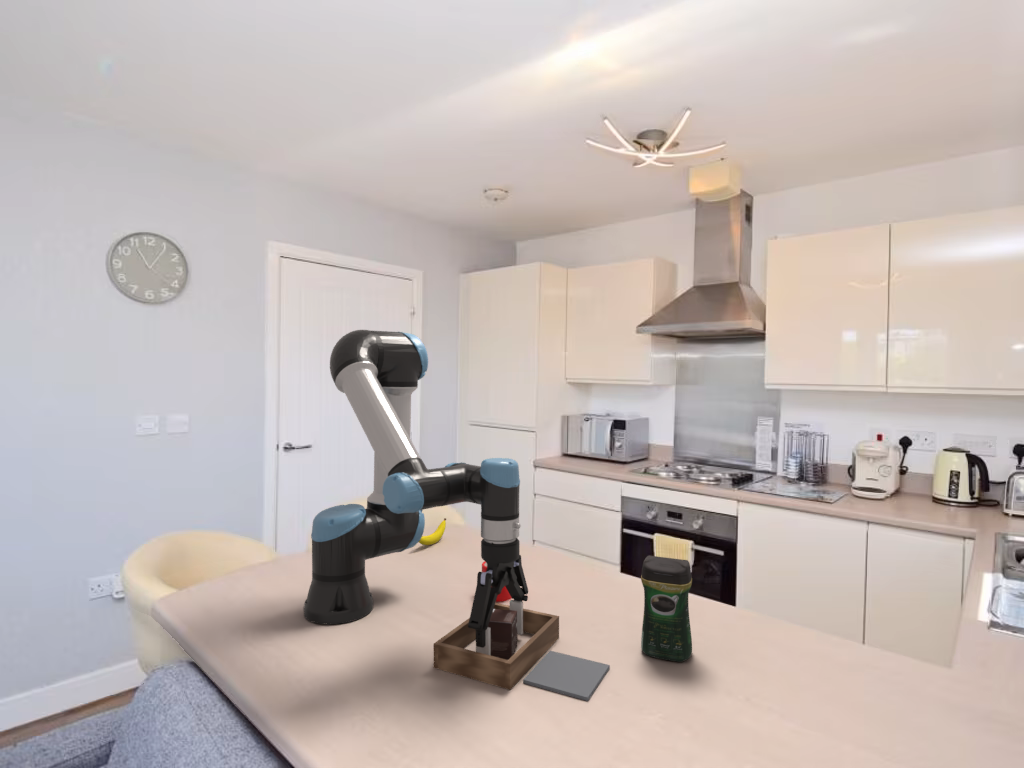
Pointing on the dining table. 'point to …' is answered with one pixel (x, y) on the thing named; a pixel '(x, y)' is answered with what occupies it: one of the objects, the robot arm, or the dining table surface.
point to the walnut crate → (489, 667)
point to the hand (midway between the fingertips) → (500, 647)
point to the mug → (504, 593)
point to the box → (503, 633)
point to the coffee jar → (666, 608)
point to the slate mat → (567, 675)
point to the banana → (434, 535)
